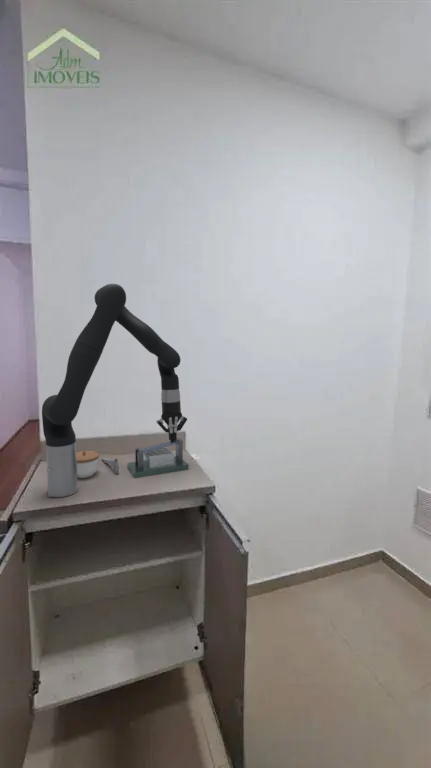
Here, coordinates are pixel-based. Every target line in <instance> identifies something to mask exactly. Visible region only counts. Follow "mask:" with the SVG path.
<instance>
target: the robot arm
mask: <svg viewBox="0 0 431 768" xmlns="http://www.w3.org/2000/svg"><path fill="white" fill-rule="evenodd" d="M94 302H95V305H96V308H95V310H94V313H93V315H92V316H91V318H90V320H89V321H88V322H87V324H86V325H85V327H84V328H83V329H82V331H81V332H80V334H79V335H78V337H77V338H76V340H75V341H74V342H75V343H74V345H73V346H72V348H71V351H70V353H69V356H68V360H67V363H66V364H67V365H66V373H65V377H64V381H63V383H62V386H61V387H60V389H59V391H58V393H57V394H54V395H50V396H48V397H47V398H45V400H44V401H43V404H42V407H41V417H42V419H41V420H42V431H43V436H44V438H45V451H46V472H47V474H46V475H47V477H46V478H47V491H48V492H47V493H48V498H63V497H68V496H72V495H73V494H75V493H77V491H79V486H78V485H79V483H78V477H77V458H76V453H77V442H76V440H77V438H76V433H75V431H74V428H73V425H72V422H73V421H74V420H75V418H76V417H77V415H78V412H79V409H80V406H81V404H82V399H83V396H84V394H85V391H86V389H87V386H88V384H89V382H90V380H91V377H92V376H93V374H94V372H95V369H96V366H97V365H98V363H99V361H100V358H101V356H102V354H103V351H104V349H105V346H106V343H107V342H108V339H109V337H110V334H111V330H113V329H112V328H113V326H114V324H115V322H117V323H118V324H119V325H121V327H123V328H124V329H125V330H126V331H127V332H128V333H130V335H131V336H133V338H134V339H136V340H137V341H138V342H139V343H140V345H142V347H144V348H145V349H146V350H147V352H149V353H151V354H152V355H155V357H156V358H157V366H158V367H157V368H158V371H159V376H160V379H161V380H160V386H161V393H160V394H161V395H160V396H161V397H160V401H161V416H160V419H158V420H156V424H157V425H158V426H159V427H160V428H161V429H162V430H163V431H164V432H165V434H166V433H168V440H169V441H171V442H175V441H176V439H177V438H178V434H177V432H179V431H181V430H182V429H183V427H184V425H185V424H186V422H187V421H188V418H187V417H185V416H183V414H182V411H181V410H182V408H181V392H180V382H179V381H180V379H179V376H178V374H176V372H175V371H176V370H175V369H177V367H179V365H180V364H181V356H180V354H179V353H178V351H177V350H176V349H175V348H173V347H172V346H171V345H170V344H168V343H167V342H166V341H164V340H163V338H161V336H160V335H159V334H158V333H157V331H155V330H154V328H152V327H150V326H149V324H147V323H145V322H144V321H143V320H141V319H140V318H139V317H137V316H136V315H134V314H133V313H132V312H131V311H130V310H129V309H128V308H127V307H126V306H125V305H126V303H127V293H126V291H125V288H124V287H122V285H120V284H117V283H108V284H105V285H103V286H102V287H99V288H98V290H97V291H96V292H95V294H94ZM164 423H165V424H166V426H165V425H164Z"/></svg>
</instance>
